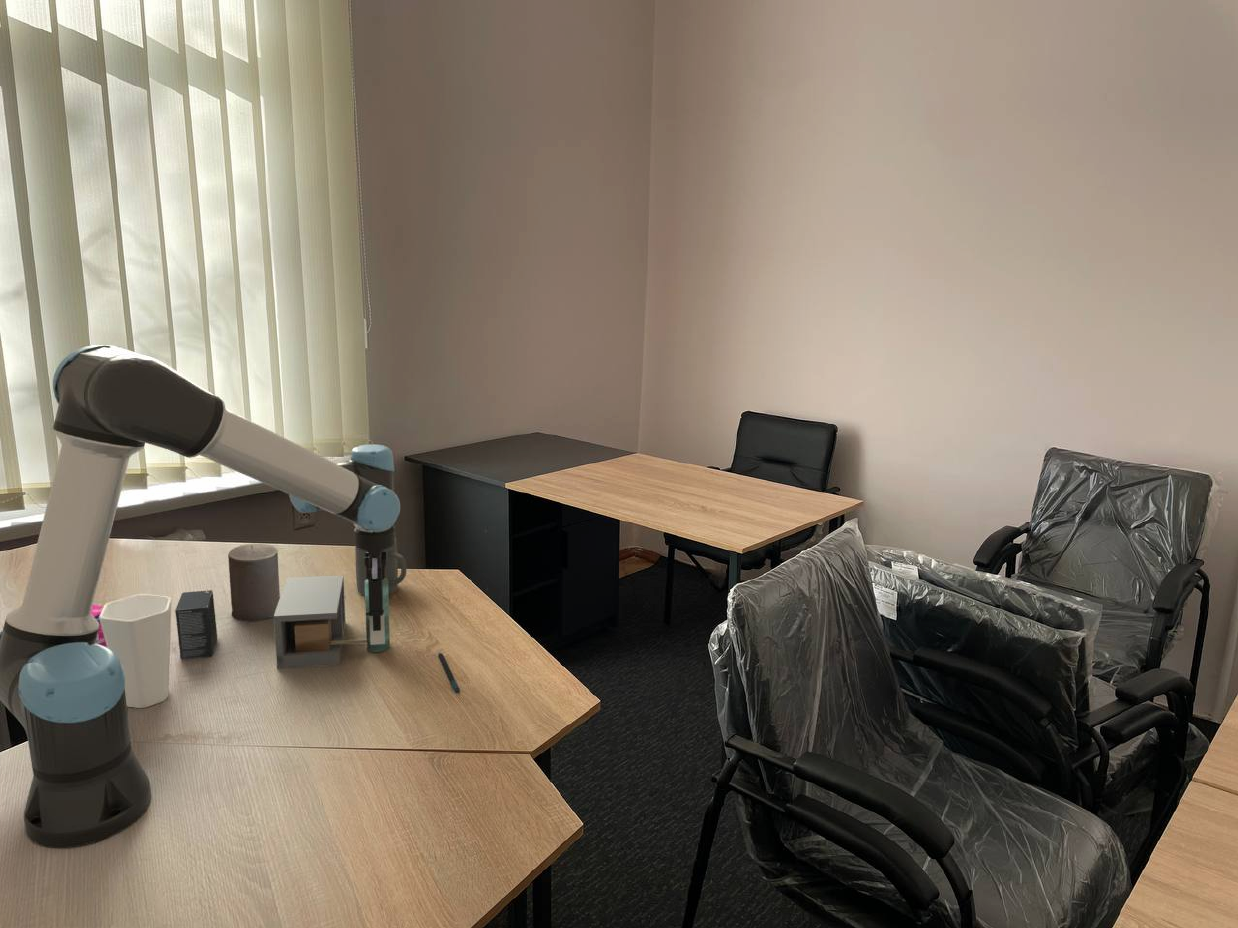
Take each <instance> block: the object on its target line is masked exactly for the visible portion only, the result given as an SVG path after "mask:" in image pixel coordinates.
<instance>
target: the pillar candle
mask: <svg viewBox="0 0 1238 928" xmlns="http://www.w3.org/2000/svg"><path fill="white" fill-rule="evenodd" d="M278 552H279V550H278V548H277V547H276V546H274V545H272V544H267V543H248V544H242V545H239V546H236V547H234V548H232V549H230V550H229V551H228V554H227V558H228V572H229V573H228V574H229V584H230V585H229V587H230V589H229V590H230V601H231V603H230V604H231V616H232V618H234V619H236V620H239V621H242V622H243V621H245V622H256V621H263V620H266V619H270V618H272V617H273V618H274V614H275V611H276V608H277V605H278V602H279V599H280V596H281V593H280V592H281V591H280V575H279V573H280V572H279V556H278V555H279V554H278Z"/></svg>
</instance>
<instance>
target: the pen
mask: <svg viewBox="0 0 1238 928" xmlns="http://www.w3.org/2000/svg"><path fill="white" fill-rule="evenodd" d="M437 658H438V660H439V662H440V663H441V664H440V665H441V666H442V669H443V670H444V672H445V675H446V677H447V678H448V681H449V683H450V685H451V688H452V690H453V692H454V693H455V694H458V693H460V692H461V689H460V688H459V685H458V683H457V681H456V679H455V677H454V675H453V673H452V670H451V668H450V666H449V664H448V662H447V660H446V657H445V656H444V654H443V653H442V652H438V656H437Z"/></svg>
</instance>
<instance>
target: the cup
mask: <svg viewBox="0 0 1238 928" xmlns="http://www.w3.org/2000/svg"><path fill="white" fill-rule="evenodd" d="M99 619H100V623H101V626H102V630H103V634H104V638H105V641H106V645H107V648H109V649H110V650H112V651H113V652H114V653H115V654H116V655H117V656H118V658H119V660H120V663H121V668H122V669H123V672H124V676H125V696H126V704H127V708H129V707H130V708H136V709H144V708H148V707H151V706H153V705H157V704H159V703H163V702H164V701H165V700H167V698H168V694H169V691H170V690H169V689H170V668H171V667H170V666H171V663H170V662H171V658H170V657H171V627H172V626H171V623H172V598H171V597H170V596H165V595H158V594H157V595H156V594H151V593H150V594H149V593H140V594H139V593H138V594H135V595H130V596H126V597H123V598H120V599H119V598H118V599H117V600H112V601H110V602H106V603H105V604H104V606H103V609H102V611H101V614H100V616H99Z"/></svg>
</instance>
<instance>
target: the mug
mask: <svg viewBox="0 0 1238 928" xmlns="http://www.w3.org/2000/svg"><path fill="white" fill-rule="evenodd" d="M397 541H398V540H397V538H396V537H395V544H394V546H392V547H391V548H389V549H384V550H383V552H386V568H385V578H387V579H388V594H389V595H391V594H394V593H395V592H396V591H397V590H398V586H399V584H400V583H401V582H403V581H404V579H405V578H406V576H407V561H406V559H405V557H404V556H403V555H402V554H400V553H398V542H397ZM354 547H355V548H354V550H355V551H354V552H355V553H354V555H355V557H354V558H355V579H356V590H357V593H359V594H360V595H361V596H364V597H365V580H367V578H366V566H365V552H368V551H366V550H361V549H358V548H357V547H356V546H355V545H354ZM398 561H399V562H400V575H399V570H398V568H399V567H398V565H399V564H398Z"/></svg>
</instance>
